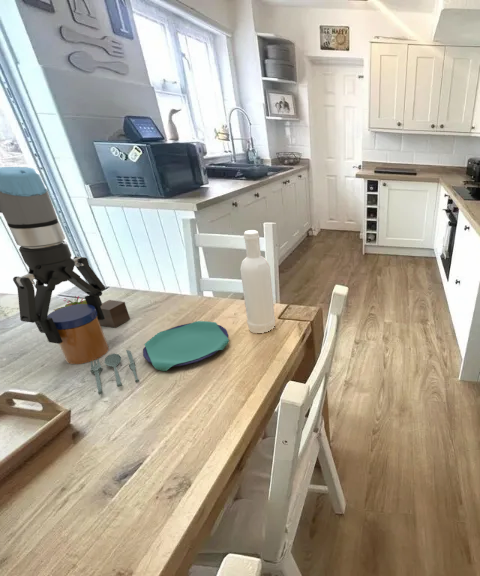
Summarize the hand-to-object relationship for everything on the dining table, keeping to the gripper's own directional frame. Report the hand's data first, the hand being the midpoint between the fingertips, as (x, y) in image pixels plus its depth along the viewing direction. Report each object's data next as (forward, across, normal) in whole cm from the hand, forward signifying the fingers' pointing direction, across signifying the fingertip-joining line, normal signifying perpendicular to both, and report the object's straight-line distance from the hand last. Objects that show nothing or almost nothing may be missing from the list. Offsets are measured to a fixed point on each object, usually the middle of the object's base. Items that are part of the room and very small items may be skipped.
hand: (78, 329), depth 80 cm
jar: (+7, 0, 0) cm, 7 cm away
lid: (-4, 0, 0) cm, 4 cm away
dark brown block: (+7, -14, -6) cm, 17 cm away
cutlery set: (+8, -4, +19) cm, 21 cm away
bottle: (+8, -22, +36) cm, 43 cm away
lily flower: (+7, -17, -22) cm, 29 cm away
